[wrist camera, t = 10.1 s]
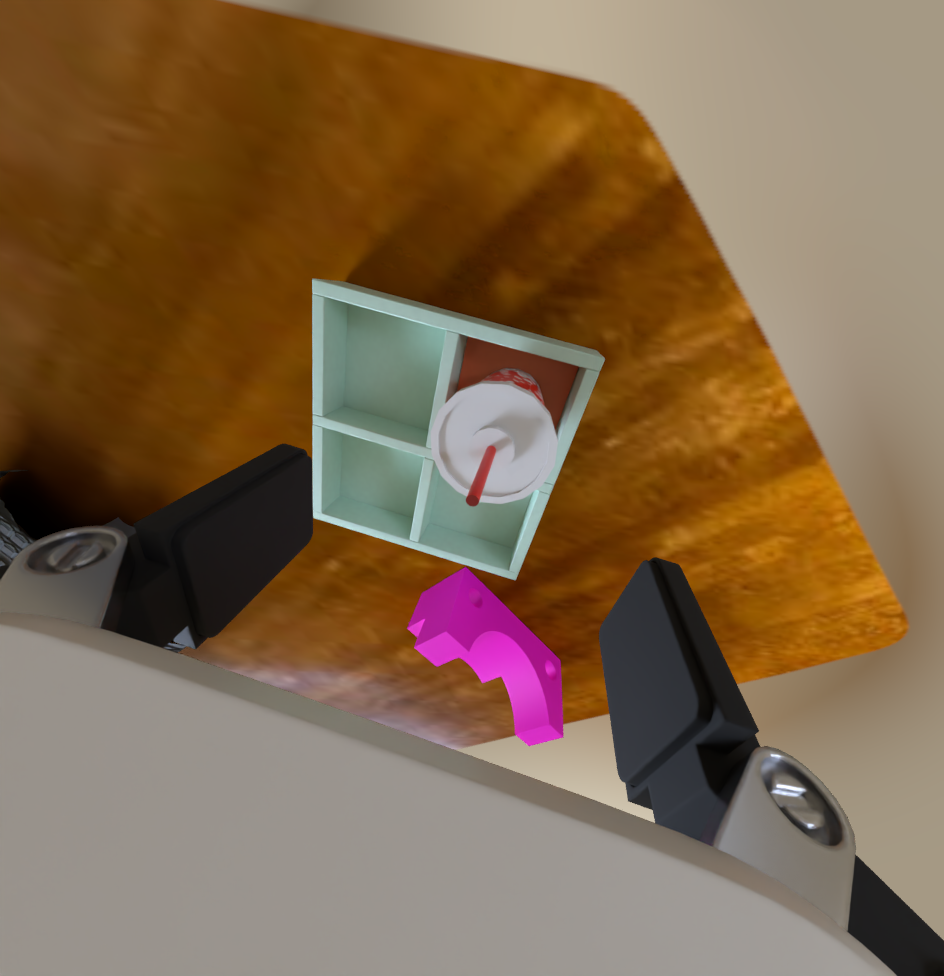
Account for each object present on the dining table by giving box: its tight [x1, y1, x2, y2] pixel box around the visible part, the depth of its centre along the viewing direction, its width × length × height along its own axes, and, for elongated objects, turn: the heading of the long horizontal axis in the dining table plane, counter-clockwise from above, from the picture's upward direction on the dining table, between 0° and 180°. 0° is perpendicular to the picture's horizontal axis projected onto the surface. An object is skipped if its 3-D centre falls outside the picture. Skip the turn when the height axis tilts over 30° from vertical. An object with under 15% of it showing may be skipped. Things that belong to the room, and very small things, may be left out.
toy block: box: [407, 567, 563, 746], centre depth 33 cm, size 15×6×8 cm, turn 42°
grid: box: [312, 279, 605, 580], centre depth 26 cm, size 18×18×4 cm
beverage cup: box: [431, 368, 558, 507], centre depth 18 cm, size 6×6×14 cm
